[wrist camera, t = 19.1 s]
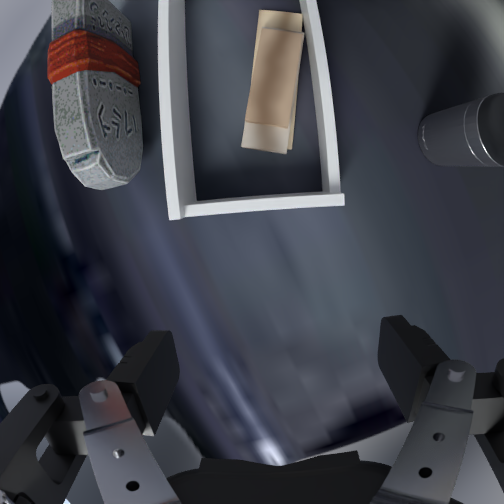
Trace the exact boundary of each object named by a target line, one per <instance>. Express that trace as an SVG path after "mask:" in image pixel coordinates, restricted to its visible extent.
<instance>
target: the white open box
mask: <svg viewBox="0 0 504 504" xmlns="http://www.w3.org/2000/svg"><path fill="white" fill-rule="evenodd" d="M299 1H300V6H301V11H302V14H303V23H304V29H305V35H306V41H307V48H308V55H309V62H310V69H311V76H312V84H313V92H314V100H315V109H316V119H317V129H318V139H319V150H320V163H321V176H322V191H323V192H304V193H288V194H273V195H260V196H247V197H235V198H224V199H213V200H203V201H197V199H196V188H195V178H194V167H193V155H192V143H191V130H190V115H189V100H188V82H187V62H186V34H185V0H159V4H158V75H159V102H160V121H161V137H162V151H163V163H164V174H165V185H166V195H167V204H168V213H169V220H177V219H182V218H184V217H191V216H201V215H212V214H224V213H235V212H248V211H261V210H275V209H289V208H305V207H322V206H341V205H345V203H344V194H342V193H341V191H340V174H339V161H338V148H337V137H336V127H335V118H334V109H333V100H332V92H331V85H330V77H329V70H328V64H327V57H326V51H325V45H324V39H323V33H322V28H321V23H320V17H319V12H318V7H317V2H316V0H299Z"/></svg>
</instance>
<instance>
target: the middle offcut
mask: <svg viewBox="0 0 504 504" xmlns="http://www.w3.org/2000/svg"><path fill="white" fill-rule="evenodd" d="M262 28H265V29H273V30H280V31H287V32H293V33H299V34H303V37H302V43H301V50H300V57H299V63H298V70H297V76H296V82H295V89H294V95H293V101H292V108H291V114H290V120H289V126H288V129H286V128H280V127H274V126H268V125H262V124H255V123H248V122H246V121H245V126H244V132H243V138H242V145H241V147H242V148H248V149H255V150H262V151H268V152H274V153H280V154H286V153H287V146H288V140H289V134H290V127H291V121H292V114H293V108H294V101H295V95H296V88H297V81H298V75H299V68H300V61H301V54H302V47H303V40H304V33H303V32H297V31H291V30H285V29H278V28H270V27H262Z"/></svg>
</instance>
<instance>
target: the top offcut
mask: <svg viewBox="0 0 504 504" xmlns="http://www.w3.org/2000/svg"><path fill="white" fill-rule="evenodd" d="M302 37H303V34H299V33H293V32H287V31H280V30H273V29H265V28H262V30H261V35H260V40H259V45H258V50H257V56H256V61H255V66H254V72H253V77H252V83H251V88H250V94H249V99H248V105H247V111H246V116H245V121H246V122H248V123H255V124H262V125H268V126H274V127H280V128H286V129H288V126H289V120H290V114H291V108H292V101H293V95H294V89H295V82H296V76H297V70H298V63H299V57H300V50H301V43H302Z"/></svg>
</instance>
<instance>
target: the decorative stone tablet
mask: <svg viewBox="0 0 504 504" xmlns="http://www.w3.org/2000/svg"><path fill="white" fill-rule="evenodd" d="M48 79H49V81H50V82H51V84H52V98H53V115H54V127H55V132H56V135H57V138H58V141H59V145H60V149H61V152H62V156H63V159H64V160H65V161H66V162H67V164H68V166H69V168H70V169H71V171H72V173H73V174H74V175H75V176H76V177H77V178H78V179H79V181H80V182H81V183H82V184H83V185H84V186H85V187H90V188H95V189H100V190H104V189H108V188H112V187H116V186H120V185H124V184H128V183H129V182H130V181H131V180H132V178H133V177H134V176H135V175H136V174H137V173H138V172H139V170H140V165H141V158H142V152H143V141H142V122H141V114H140V105H139V96H138V87H139V85H140V83H141V82H140V75H139V68H138V62H137V61H136V60H135V59H134V58H133V48H132V32H131V22H130V21H129V19H127V18H126V17H125V16H124V15H123V14H122V13H121V12H120V11H119V10H118V9H117V8H116V7H115V6H114V5H113V4H112V3H111V2H109V1H108V0H52V42H51V43H50V45H49V49H48Z"/></svg>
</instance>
